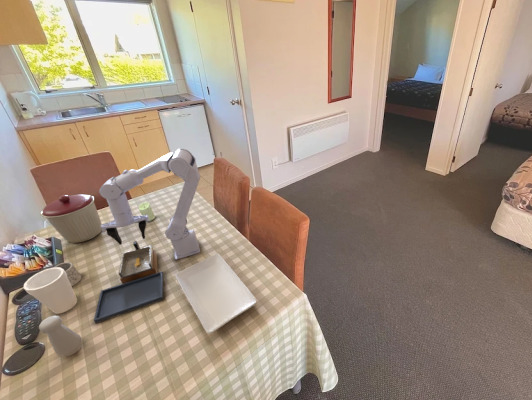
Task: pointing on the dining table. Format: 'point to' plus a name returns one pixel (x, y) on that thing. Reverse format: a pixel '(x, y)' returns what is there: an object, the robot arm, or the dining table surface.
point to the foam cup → (52, 289)
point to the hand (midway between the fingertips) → (132, 240)
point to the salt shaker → (61, 336)
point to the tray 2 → (214, 292)
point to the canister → (74, 217)
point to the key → (137, 262)
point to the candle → (146, 210)
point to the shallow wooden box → (142, 274)
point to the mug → (70, 272)
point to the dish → (130, 259)
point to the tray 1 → (129, 296)
